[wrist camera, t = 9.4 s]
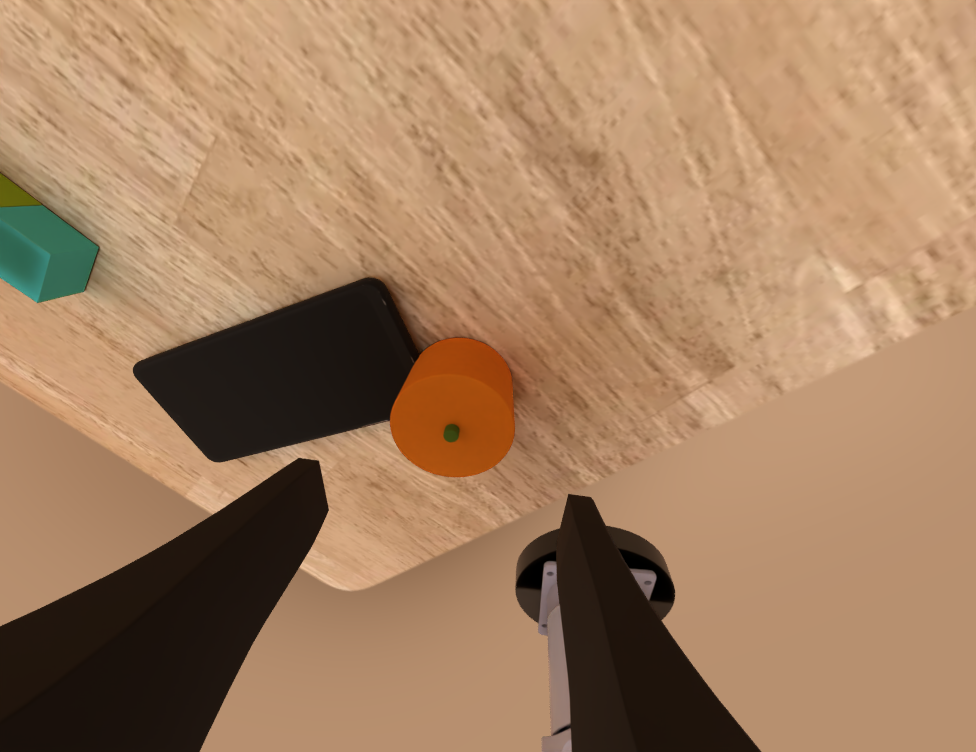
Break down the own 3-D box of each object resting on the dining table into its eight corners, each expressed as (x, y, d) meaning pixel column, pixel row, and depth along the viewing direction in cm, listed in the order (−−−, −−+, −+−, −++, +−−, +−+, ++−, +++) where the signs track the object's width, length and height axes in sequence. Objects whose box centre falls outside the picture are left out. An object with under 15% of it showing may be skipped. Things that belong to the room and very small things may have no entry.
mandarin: (511, 427, 19) (513, 486, 15) (416, 426, 19) (395, 484, 15) (513, 336, 17) (516, 379, 13) (405, 337, 17) (377, 379, 13)
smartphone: (440, 410, 18) (212, 466, 21) (444, 401, 18) (222, 457, 22) (375, 275, 15) (123, 367, 19) (382, 270, 16) (138, 360, 19)
